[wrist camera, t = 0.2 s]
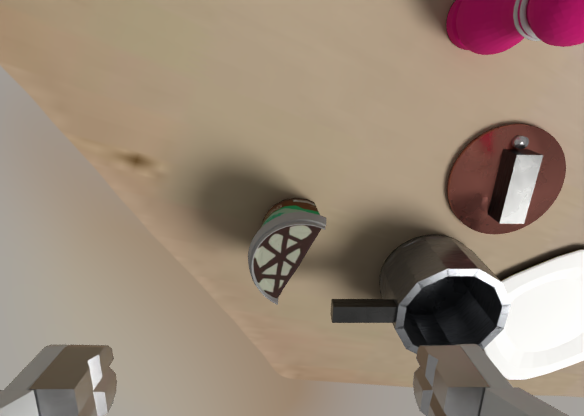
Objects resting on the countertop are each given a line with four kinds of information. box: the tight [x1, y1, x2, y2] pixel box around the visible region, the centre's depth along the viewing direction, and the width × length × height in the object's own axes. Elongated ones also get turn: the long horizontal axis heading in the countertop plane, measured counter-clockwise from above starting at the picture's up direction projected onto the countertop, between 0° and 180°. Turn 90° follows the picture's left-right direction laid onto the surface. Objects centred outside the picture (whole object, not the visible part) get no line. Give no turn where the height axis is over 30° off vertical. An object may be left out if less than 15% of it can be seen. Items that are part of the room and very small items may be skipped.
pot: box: [331, 235, 511, 354], centre depth 51 cm, size 14×22×9 cm, turn 89°
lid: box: [447, 124, 566, 234], centre depth 48 cm, size 15×15×4 cm
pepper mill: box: [446, 0, 584, 55], centre depth 33 cm, size 7×7×20 cm
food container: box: [248, 198, 326, 305], centre depth 46 cm, size 12×6×10 cm, turn 151°
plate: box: [484, 249, 584, 380], centre depth 58 cm, size 22×22×2 cm
